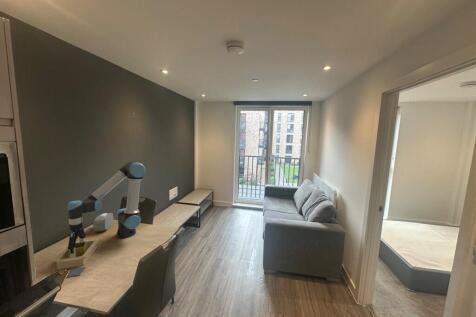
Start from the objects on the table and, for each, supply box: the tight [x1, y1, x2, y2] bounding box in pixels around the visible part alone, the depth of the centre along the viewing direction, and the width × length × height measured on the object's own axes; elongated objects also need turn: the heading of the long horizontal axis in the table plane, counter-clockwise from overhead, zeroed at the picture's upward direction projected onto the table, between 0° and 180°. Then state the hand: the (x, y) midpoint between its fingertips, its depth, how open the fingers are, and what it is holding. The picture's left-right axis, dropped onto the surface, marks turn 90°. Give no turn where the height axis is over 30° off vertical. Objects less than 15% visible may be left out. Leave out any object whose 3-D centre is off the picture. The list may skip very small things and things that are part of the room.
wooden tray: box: [52, 238, 100, 270], centre depth 143 cm, size 19×28×6 cm
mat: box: [65, 266, 86, 279], centre depth 127 cm, size 9×8×1 cm
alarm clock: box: [92, 212, 114, 232], centre depth 189 cm, size 21×10×13 cm, turn 14°
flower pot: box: [69, 241, 87, 257], centre depth 143 cm, size 9×9×9 cm
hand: (77, 252), depth 143 cm, fingers open, 13 cm apart
